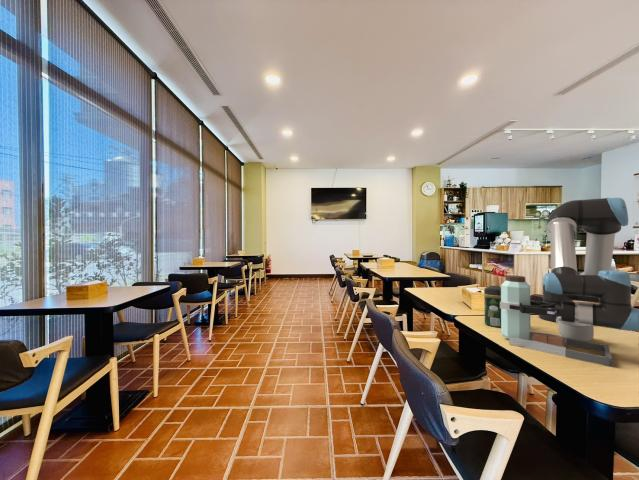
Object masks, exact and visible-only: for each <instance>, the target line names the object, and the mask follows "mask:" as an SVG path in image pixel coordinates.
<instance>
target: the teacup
mask: <svg viewBox="0 0 639 480" xmlns="http://www.w3.org/2000/svg"><path fill="white" fill-rule="evenodd" d="M555 323H556V324H557V326H558V333H559V336H564V337H567V338H570V339H576V340H581V341H587V342H591V341H592V340H593V338H594V334H595V332H594V325H589V326H585V324H581V323H577V321H575V322H574V323H573V322H566V321H562V320H561V317H557V318H556V322H555Z"/></svg>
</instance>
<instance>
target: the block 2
mask: <svg viewBox="0 0 639 480" xmlns="http://www.w3.org/2000/svg"><path fill="white" fill-rule="evenodd" d="M547 343H548V344H553V345H558V346H564V345H563V337H558V336H552V335H549V337H548V342H547Z"/></svg>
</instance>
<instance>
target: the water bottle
mask: <svg viewBox="0 0 639 480" xmlns="http://www.w3.org/2000/svg"><path fill="white" fill-rule="evenodd" d="M500 287H501V302H508V303H516V304H520V303H522V305H530V300H531V285H529V283H528V282H527V280H526V276H523V275H515V274H514V275H505V280H504V281H503V282H502V283H501V285H500ZM500 329H501V330H500V331H501V332H500V334H501V335H502V337H504V338H506V339H508V340H509V336H513V337H518V338H523V339H528V340H530V331H531V314H527V313H521V312H520V311H514V310H507V309H501V327H500Z"/></svg>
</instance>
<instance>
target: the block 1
mask: <svg viewBox="0 0 639 480" xmlns="http://www.w3.org/2000/svg"><path fill="white" fill-rule="evenodd" d="M532 340H533V341H538V342H543V343H548V342H547V335H544V334H538V333H534V334H533V339H532Z"/></svg>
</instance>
